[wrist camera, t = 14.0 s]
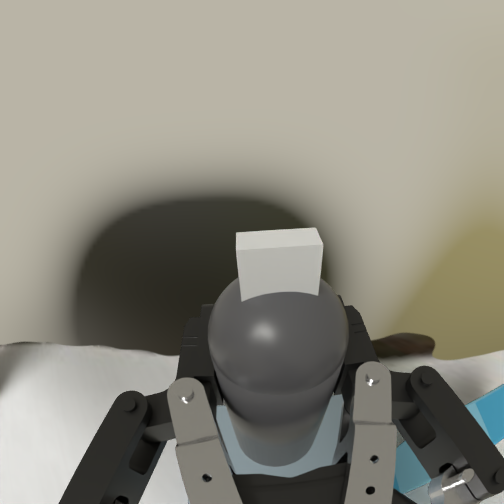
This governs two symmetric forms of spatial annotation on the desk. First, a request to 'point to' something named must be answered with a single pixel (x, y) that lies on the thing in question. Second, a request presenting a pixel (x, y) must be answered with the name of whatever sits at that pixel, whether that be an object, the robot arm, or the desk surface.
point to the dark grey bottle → (278, 344)
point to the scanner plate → (313, 459)
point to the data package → (486, 414)
